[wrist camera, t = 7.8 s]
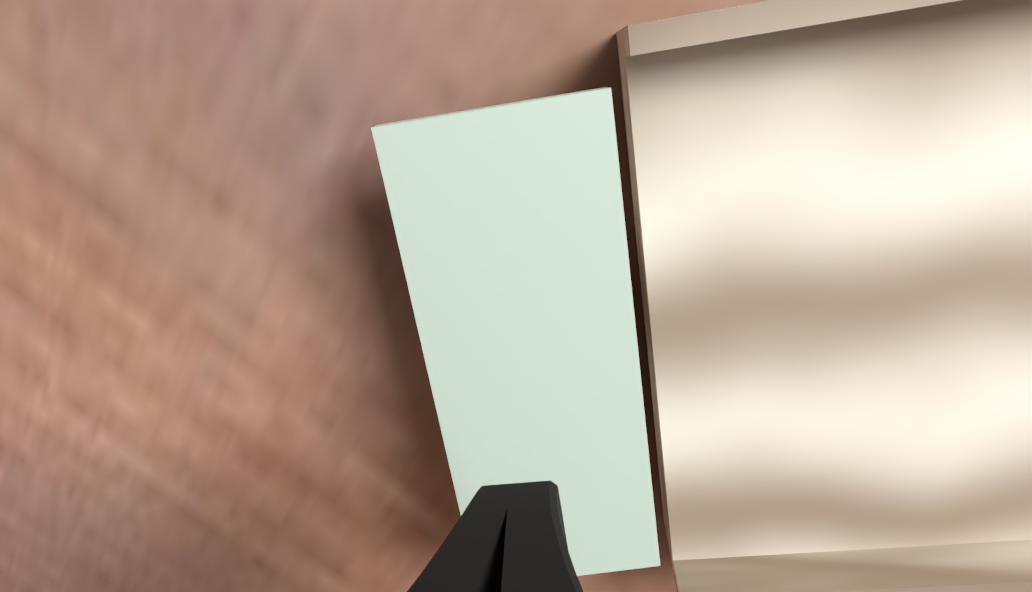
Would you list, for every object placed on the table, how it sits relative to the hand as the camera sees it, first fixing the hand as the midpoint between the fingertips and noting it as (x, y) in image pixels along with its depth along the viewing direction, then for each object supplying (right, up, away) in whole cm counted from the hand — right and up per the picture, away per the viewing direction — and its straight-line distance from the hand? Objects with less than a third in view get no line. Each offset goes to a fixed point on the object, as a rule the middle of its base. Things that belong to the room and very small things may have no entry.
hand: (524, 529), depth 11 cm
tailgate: (+3, +3, +6) cm, 7 cm away
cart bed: (+10, +4, +8) cm, 13 cm away
